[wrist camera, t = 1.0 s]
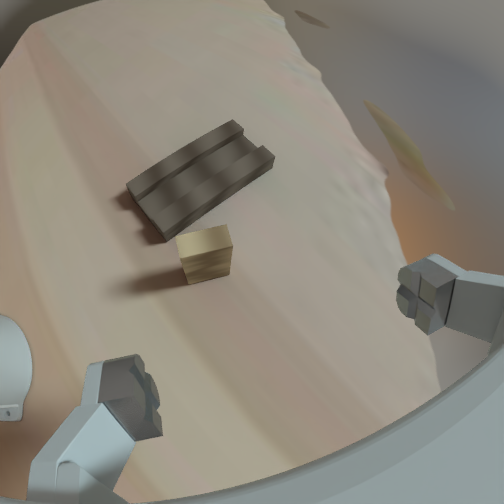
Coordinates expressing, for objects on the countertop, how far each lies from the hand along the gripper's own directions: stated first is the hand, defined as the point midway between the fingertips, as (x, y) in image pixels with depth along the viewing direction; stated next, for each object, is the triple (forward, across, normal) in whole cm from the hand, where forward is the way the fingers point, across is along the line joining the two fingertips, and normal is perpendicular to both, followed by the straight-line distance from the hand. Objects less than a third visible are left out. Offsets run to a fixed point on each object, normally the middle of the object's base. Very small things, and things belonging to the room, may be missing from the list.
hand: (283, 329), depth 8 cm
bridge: (+40, -2, +3) cm, 40 cm away
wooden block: (+30, +1, +13) cm, 33 cm away
